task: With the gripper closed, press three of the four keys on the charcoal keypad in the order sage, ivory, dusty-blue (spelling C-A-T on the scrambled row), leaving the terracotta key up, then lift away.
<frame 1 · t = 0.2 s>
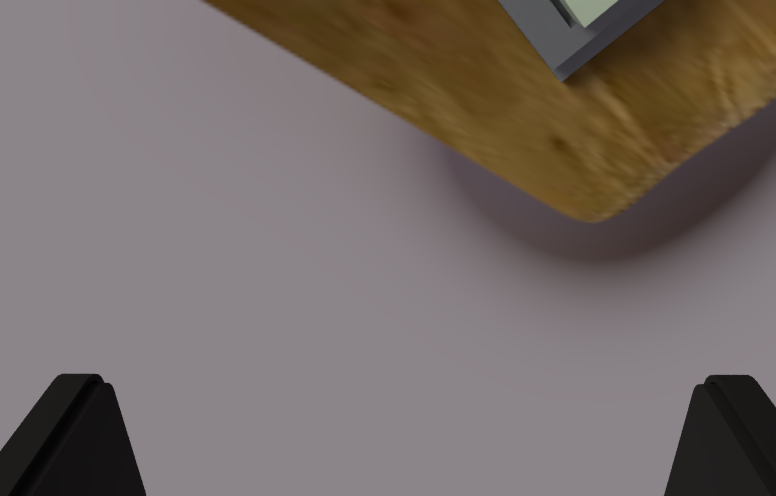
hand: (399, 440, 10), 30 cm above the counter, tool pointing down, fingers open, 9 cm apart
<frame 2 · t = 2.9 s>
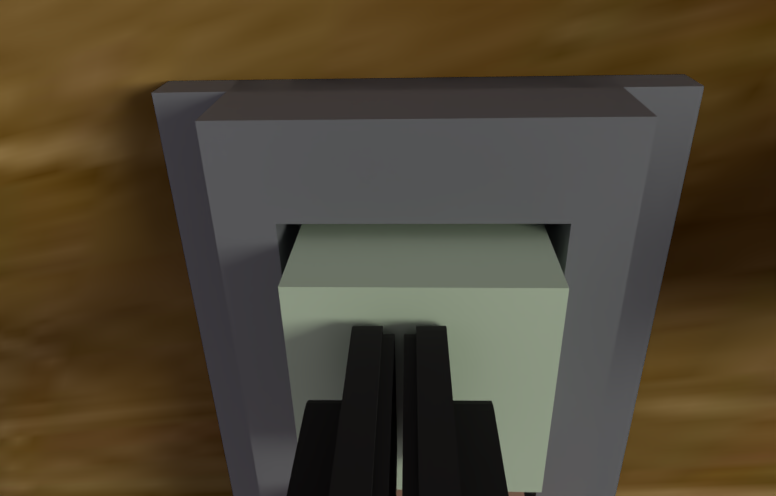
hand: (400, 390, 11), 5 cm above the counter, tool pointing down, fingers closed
key C: (421, 357, 12), point 3 cm above the counter, slide at -0.9 cm, touching gripper
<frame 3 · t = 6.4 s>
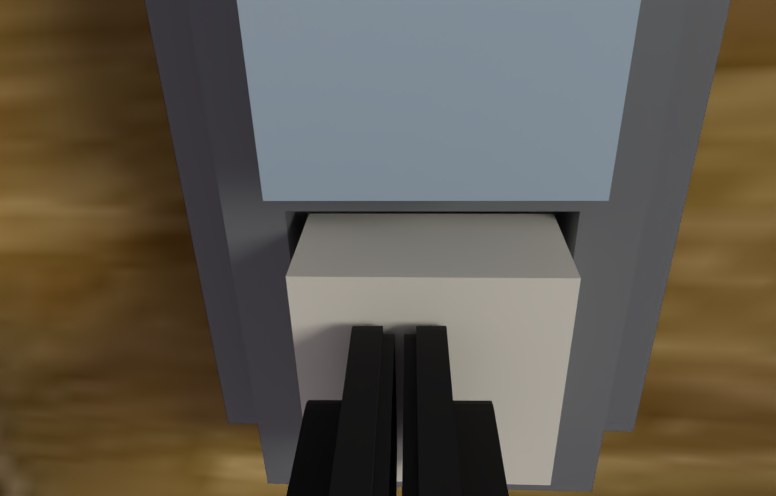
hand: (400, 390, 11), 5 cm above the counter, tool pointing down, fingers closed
key A: (429, 349, 12), point 4 cm above the counter, slide at -0.8 cm, touching gripper
key T: (434, 5, 9), point 4 cm above the counter, slide at 0.0 cm
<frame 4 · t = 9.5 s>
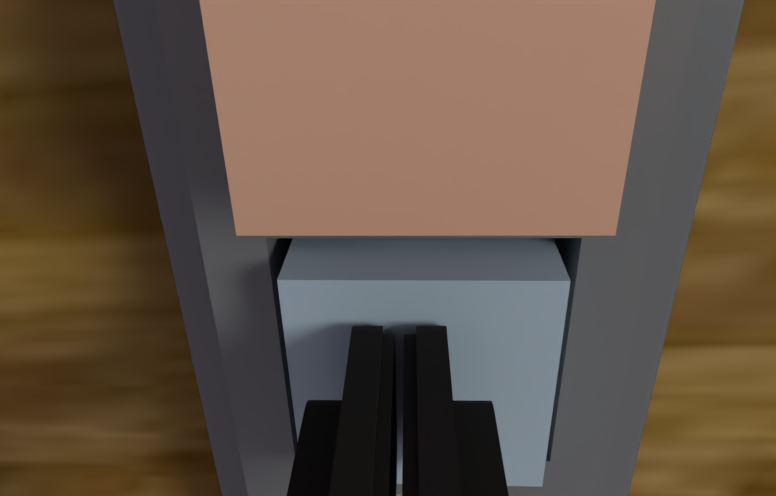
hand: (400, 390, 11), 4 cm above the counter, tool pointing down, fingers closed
key O: (423, 21, 8), point 4 cm above the counter, slide at 0.0 cm
key T: (421, 351, 12), point 3 cm above the counter, slide at -1.7 cm, touching gripper
keypad housing: (421, 149, 13), on the counter
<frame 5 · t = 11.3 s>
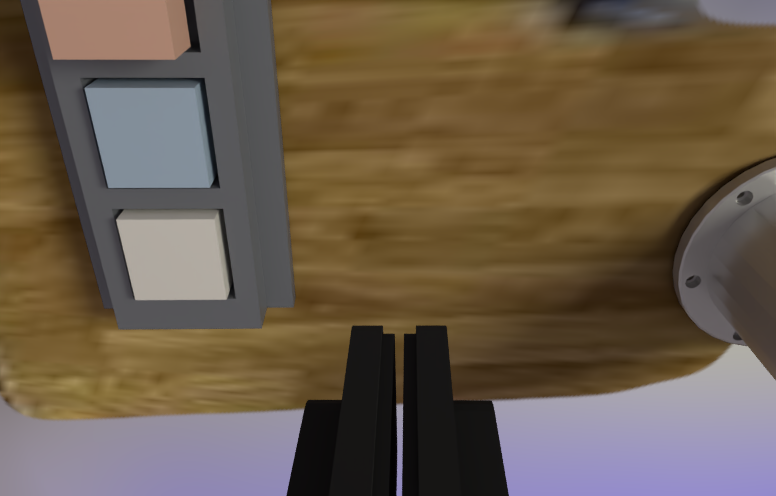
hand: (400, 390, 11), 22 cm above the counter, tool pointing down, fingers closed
key A: (179, 249, 33), point 2 cm above the counter, slide at -2.0 cm
key T: (157, 131, 30), point 2 cm above the counter, slide at -2.0 cm
keypad housing: (160, 49, 30), on the counter
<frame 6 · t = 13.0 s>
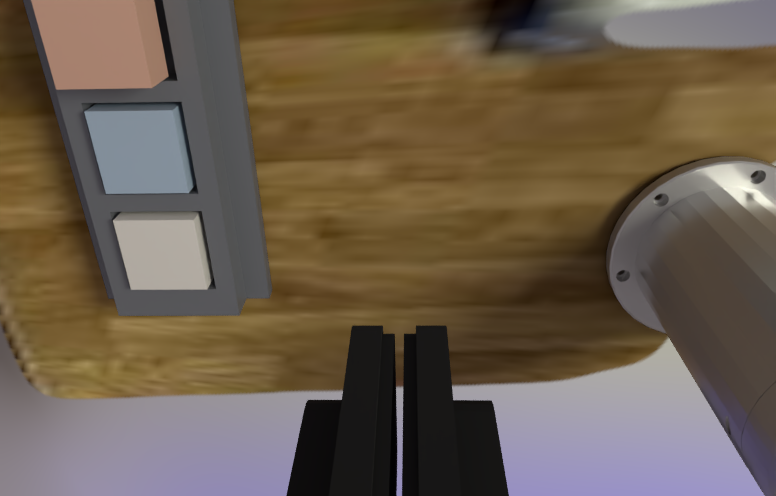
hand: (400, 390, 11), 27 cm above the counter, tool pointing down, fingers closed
key O: (102, 33, 30), point 4 cm above the counter, slide at 0.0 cm
key A: (168, 246, 39), point 2 cm above the counter, slide at -2.0 cm
key T: (146, 146, 35), point 2 cm above the counter, slide at -2.0 cm
keypad housing: (149, 78, 36), on the counter
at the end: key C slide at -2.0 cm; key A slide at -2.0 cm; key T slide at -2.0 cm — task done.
